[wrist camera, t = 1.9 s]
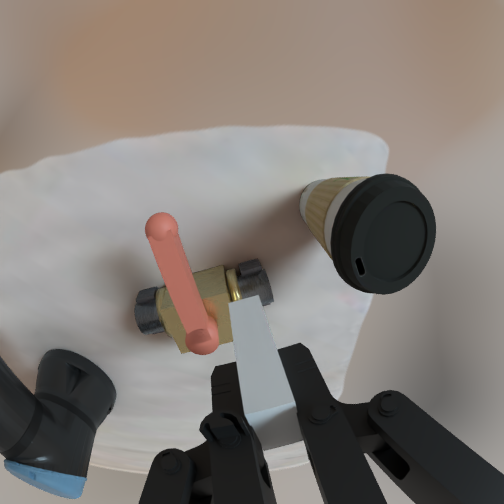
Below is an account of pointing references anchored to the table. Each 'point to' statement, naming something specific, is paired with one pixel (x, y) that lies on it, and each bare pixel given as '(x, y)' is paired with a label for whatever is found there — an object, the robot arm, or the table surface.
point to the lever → (181, 284)
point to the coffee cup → (371, 229)
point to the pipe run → (213, 297)
